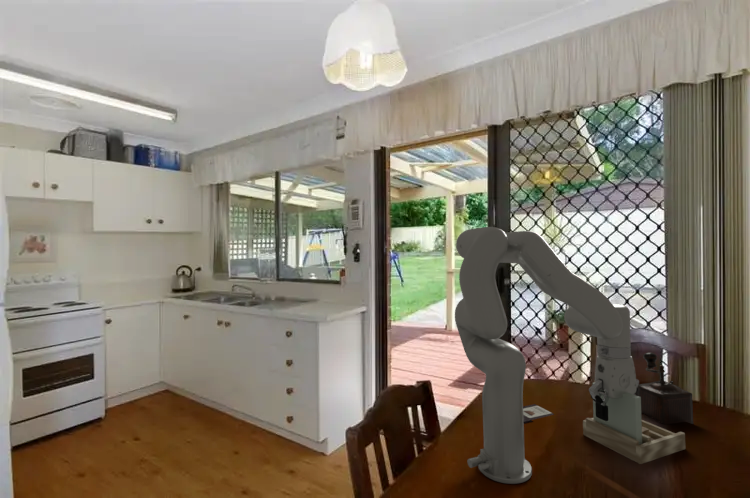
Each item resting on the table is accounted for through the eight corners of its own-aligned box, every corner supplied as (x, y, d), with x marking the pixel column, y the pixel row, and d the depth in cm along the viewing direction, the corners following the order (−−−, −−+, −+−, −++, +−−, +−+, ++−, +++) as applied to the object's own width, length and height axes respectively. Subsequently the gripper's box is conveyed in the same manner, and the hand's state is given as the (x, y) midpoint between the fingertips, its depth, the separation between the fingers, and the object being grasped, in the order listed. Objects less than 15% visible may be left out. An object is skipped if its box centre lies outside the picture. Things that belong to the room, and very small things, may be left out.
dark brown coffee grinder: (697, 424, 113) (695, 364, 113) (663, 428, 111) (661, 367, 111) (652, 403, 128) (650, 350, 128) (622, 406, 127) (621, 352, 127)
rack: (640, 468, 92) (639, 443, 92) (583, 438, 107) (582, 416, 107) (685, 452, 98) (684, 429, 98) (625, 426, 113) (624, 406, 113)
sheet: (637, 458, 94) (635, 398, 94) (594, 436, 106) (592, 382, 106) (642, 456, 95) (640, 397, 95) (599, 435, 106) (597, 381, 106)
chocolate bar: (490, 413, 123) (534, 404, 129) (490, 416, 123) (534, 406, 129) (509, 425, 115) (555, 414, 121) (509, 428, 115) (555, 417, 121)
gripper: (603, 359, 94) (604, 428, 94) (650, 350, 100) (651, 415, 100) (577, 351, 101) (578, 415, 101) (622, 344, 107) (624, 404, 107)
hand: (615, 415), depth 100 cm, fingers open, 9 cm apart
